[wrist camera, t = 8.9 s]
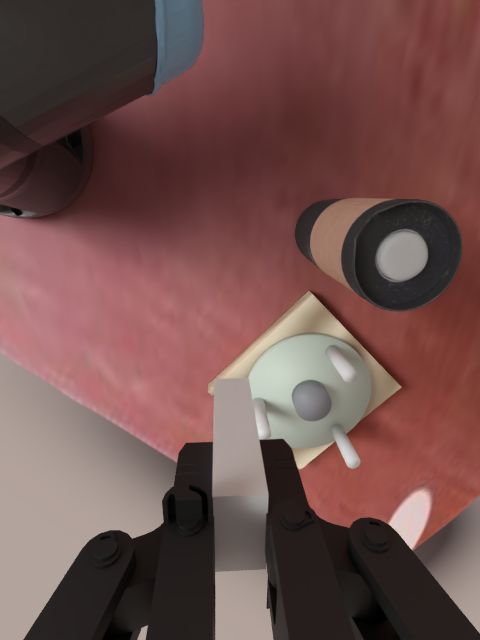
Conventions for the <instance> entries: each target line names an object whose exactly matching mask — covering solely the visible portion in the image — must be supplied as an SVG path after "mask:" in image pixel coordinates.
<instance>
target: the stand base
mask: <svg viewBox="0 0 480 640" xmlns="http://www.w3.org/2000/svg"><path fill="white" fill-rule="evenodd" d="M301 333H322V334H327V335H331V336H334V337H336V338H338V339H341V340H342V341H344V342H346V343H347V344H349V345H350V346H351V347H352V348H353V349H354V350H355V351H356V352H357V353H358V354H359V356H360V357H361V358H362V359H363V361H364V362H365V364H366V366H367V368H368V371H369V374H370V378H371V396H370V401H369V404H368V407H367V409H366V411H365V413H364V415H363V416H362V418H361V419H360V421H361V420H362V419H363V418H364V417H366V416H367V415H368V414H369V413H371V412H372V411H373V410H374V409H375V408H377V407H378V406H379V405H380V404H382V403H383V402H384V401H385V400H386V399H388V398H389V397H390V396H391V395H393V394H394V393H395V392H396V391H397V390H399V389H400V388H401V386H400V385H399V384H398V383H397V382H396V381H395V380H394V379H393V378H392V377H391V376H390V375H389V374H388V373H387V371H386V370H385V369H384V368H383V367H382V366H381V365H380V364H379V363H378V362H377V361H376V360H375V359H374V358H373V357H372V356H371V355H370V354H369V353H368V352H367V351H366V350H365V349H364V347H363V346H362V345H361V344H360V343H359V342H358V341H357V340H356V339H355V338H354V337H353V336H352V335H351V334H350V333H349V332H348V331H347V330H346V329H345V328H344V327H343V326H342V324H341V323H340V322H339V321H338V320H337V319H336V318H335V317H334V316H333V315H332V314H331V313H330V312H329V311H328V310H327V309H326V308H325V307H324V306H323V305H322V304H321V303H320V301H319V300H318V299H317V298H316V297H315V296H314V295H313V294H312V293H311V292H310V291H308V292H307V293H306V294H305V295H303V296H302V297H301V298H300V299H299V300H298V301H297V302H296V303H295V304H294V305H293V306H292V307H291V308H290V309H288V310H287V311H286V312H285V313H284V314H283V315H282V316H281V317H280V318H279V319H278V320H277V321H276V322H275V323H274V324H272V325H271V326H270V327H269V328H268V329H267V330H266V331H265V332H264V333H263V334H262V335H261V336H260V337H259V338H257V339H256V340H255V341H254V342H253V343H252V344H251V345H250V346H249V347H248V348H247V349H246V350H245V351H244V352H242V353H241V354H240V355H239V356H238V357H237V358H236V359H235V360H234V361H233V362H232V363H231V364H230V365H229V366H227V367H226V368H225V369H224V370H223V371H222V372H221V373H220V374H219V375H218V376H217V377H216V378H215V379H235V378H247V377H248V374H249V372H250V370H251V368H252V366H253V364H254V363H255V361H256V360H257V359H258V357H259V356H260V355H261V354H262V353H263V352H264V351H265V350H266V349H268V348H269V347H270V346H271V345H273V344H275V343H276V342H278V341H280V340H282V339H284V338H286V337H289V336H292V335H297V334H301ZM208 392H209V393H210V394H211V395H212V396H213V397H214V380H212V381H211V382H210V383H209V384H208ZM334 442H335V441H334ZM334 442H331V443H329V444H326V445H323V446H319V447H314V448H292V451H293V454H294V457H295V461H296V464H297V467H298V468H299V469H300V470H301V469H302V468H303V467H304V466H306V465H307V464H308V463H309V462H310V461H312V460H313V459H314V458H315V457H317V456H318V455H319V454H320V453H321V452H323V451H324V450H325V449H326V448H328V447H329V446H330V445H331V444H333V443H334Z"/></svg>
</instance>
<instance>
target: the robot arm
mask: <svg viewBox="0 0 480 640" xmlns="http://www.w3.org/2000/svg"><path fill="white" fill-rule="evenodd" d="M203 40H204V13H203V2H202V0H0V215H4V216H9V217H15V218H32V217H41V216H46V215H50V214H53V213H56V212H58V211H60V210H62V209H64V208H65V207H67V206H68V205H70V204H71V203H72V202H73V201H74V200H75V199H76V198H77V197H78V196H79V195H80V193H81V192H82V190H83V189H84V187H85V185H86V183H87V181H88V178H89V175H90V172H91V168H92V161H93V144H92V137H91V132H90V128H89V125H88V124H90V123H92V122H94V121H96V120H98V119H100V118H102V117H104V116H105V115H107V114H109V113H111V112H113V111H115V110H117V109H119V108H121V107H123V106H125V105H127V104H128V103H130V102H132V101H134V100H136V99H138V98H140V97H142V96H144V95H147V96H151V95H154V94H155V93H156V92H157V91H158V90H159V89H160V87H161V86H162V85H164V84H165V83H167V82H169V81H171V80H172V79H174V78H176V77H177V76H179V75H181V74H182V73H184V72H186V71H187V70H189V69H190V68H191V67H192V66H193V65H194V64H195V62H196V60H197V58H198V55H199V54H200V52H201V49H202V45H203ZM162 505H163V517H164V523H163V524H162V525H161V526H160V527H158V528H157V529H155V530H154V531H152V532H150V533H147V534H145V535H142V536H139V537H136V538H133V539H132V538H131V537H130V536H129V535H128V534H127V533H125V532H122V531H120V530H116V531H115V530H113V531H112V530H110V531H107V532H104V533H101V534H99V535H97V536H95V537H94V538H93V539H91V540H90V541H89V542H88V543H87V544H86V545H85V546H84V547H83V549H82V550H81V552H80V553H79V555H78V556H77V558H76V559H75V561H74V562H73V564H72V565H71V567H70V568H69V570H68V572H67V573H66V575H65V576H64V578H63V580H62V581H61V582H60V584H59V586H58V587H57V589H56V590H55V592H54V593H53V595H52V597H51V598H50V600H49V601H48V603H47V604H46V606H45V607H44V609H43V610H42V612H41V613H40V615H39V617H38V618H37V619H36V621H35V623H34V624H33V626H32V627H31V629H30V630H29V632H28V633H27V635H26V636H25V638H24V640H137V638H138V636H139V633H140V631H141V628H142V627H144V626H147V625H148V629H147V636H146V640H215V572H219V571H239V570H258V569H266V563H267V572H268V589H267V609H268V608H270V614H271V622H272V630H273V639H274V640H480V634H479V632H478V631H477V630H476V629H475V627H474V626H473V625H472V624H471V623H470V621H469V620H468V619H467V618H466V616H465V615H464V614H463V613H462V611H460V609H459V608H458V607H457V605H456V604H455V603H454V602H453V600H452V599H451V598H450V597H449V595H448V594H447V593H446V592H445V591H444V589H443V588H442V587H441V586H440V585H439V583H438V582H437V581H436V580H435V578H434V577H433V576H432V575H431V573H430V572H429V571H428V570H427V568H426V567H425V566H424V565H423V563H422V562H421V561H420V560H419V559H418V557H417V556H416V555H415V554H414V552H413V551H412V550H411V549H410V548H409V546H408V545H407V544H406V543H405V541H404V540H403V539H402V538H401V536H400V535H399V534H398V533H397V532H396V531H395V530H394V529H393V528H392V527H391V526H390V525H388V524H387V523H385V522H383V521H381V520H378V519H374V518H370V517H369V518H360V519H358V520H356V521H354V522H353V524H352V525H351V527H350V528H347V527H343V526H339V525H335V524H332V523H329V522H326V521H325V520H323V519H321V518H319V517H318V516H317V515H316V513H315V512H314V510H313V509H311V508H310V506H309V504H308V502H307V498H306V495H305V492H304V488H303V485H302V481H301V478H300V474H299V471H298V469H297V464H296V461H295V457H294V454H293V451H292V448H291V447H290V446H289V444H288V443H287V442H286V441H285V440H284V439H263V440H259V436H258V430H257V424H256V418H255V412H254V406H253V400H252V394H251V388H250V383H249V378H235V379H214V426H213V442H200V443H186V444H185V445H184V447H183V448H182V449H181V451H180V452H179V456H178V462H177V469H176V475H175V482H174V487H172V488H171V489H170V490H169V491H168V492H167V493H166V494H165V496H164V498H163V500H162Z"/></svg>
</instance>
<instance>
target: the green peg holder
mask: <svg viewBox="0 0 480 640" xmlns="http://www.w3.org/2000/svg"><path fill="white" fill-rule="evenodd" d="M247 378H249V383H250V388H251V394H252V400H253V406H254V412H255V418H256V424H257V430H258V436H259V439H260V440H263V439H284V440H285V441H286V442H287V443H288V444H289V446H290V447H291V448H314V447H319V446H323V445H326V444H329V443H331V442H334V441H336V443H337V445H338V447H339V449H340V451H341V453H342V456H343V458H344V460H345V462H346V464H347V466H348V467H349V468H357V467H358V466H359V465H360V463H361V461H360V459H359V457H358V455H357V453H356V451H355V449H354V448H353V446H352V444H351V442H350V440H349V438H348V436H347V435H346V434H347V433H348V432H349V431H350V430H351V429H353V428H354V427H355V426H356V424H357V423H358V422H359V421H360V419H361V418H362V416H363V415H364V413H365V411H366V409H367V407H368V404H369V401H370V396H371V378H370V374H369V371H368V368H367V366H366V364H365V362H364V361H363V359H362V358H361V357H360V356H359V354H358V353H357V352H356V351H355V350H354V349H353V348H352V347H351V346H350V345H349V344H347V343H346V342H344V341H342V340H341V339H338V338H336V337H334V336H331V335H327V334H322V333H301V334H297V335H292V336H289V337H286V338H284V339H282V340H280V341H278V342H276V343H275V344H273V345H271V346H270V347H269V348H268V349H266V350H265V351H264V352H263V353H262V354H261V355H260V356H259V357H258V359H257V360H256V361H255V363H254V364H253V366H252V368H251V370H250V372H249V374H248V377H247Z"/></svg>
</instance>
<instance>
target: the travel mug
mask: <svg viewBox="0 0 480 640" xmlns="http://www.w3.org/2000/svg"><path fill="white" fill-rule="evenodd" d="M295 238H296V242H297V245H298V247H299V249H300V251H301V252H302V253H303V254H304V256H306V257H307V258H308V259H309V260H310V261H311V262H312V263H314V264H315V265H316V266H317V267H318V268H320V269H321V270H322V271H323V272H324V273H326V274H327V275H329V276H330V277H332V278H333V279H335V280H336V281H338V282H339V283H341V284H342V285H344V286H345V287H347V288H349V289H350V290H352V291H353V292H355V293H356V294H358V295H359V296H361V297H362V298H364V299H365V300H367V301H368V302H370V303H371V304H373V305H375V306H377V307H379V308H382V309H385V310H389V311H408V310H413V309H416V308H419V307H422V306H424V305H426V304H428V303H430V302H431V301H433V300H434V299H436V298H437V297H438V296H439V295H440V294H441V293H442V292H443V291H444V290H445V289H446V288H447V287H448V286H449V284H450V283H451V281H452V280H453V278H454V277H455V274H456V272H457V270H458V267H459V264H460V261H461V256H462V239H461V234H460V231H459V228H458V226H457V224H456V222H455V220H454V219H453V218H452V216H451V215H450V214H449V213H448V212H447V211H446V210H444V209H443V208H442V207H440V206H438V205H436V204H434V203H431V202H428V201H424V200H418V199H379V198H345V199H334V200H325V201H320V202H317V203H315V204H313V205H311V206H310V207H308V208H307V209H306V210H305V211H304V212H303V213H302V214H301V216H300V218H299V220H298V222H297V225H296V230H295Z"/></svg>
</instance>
